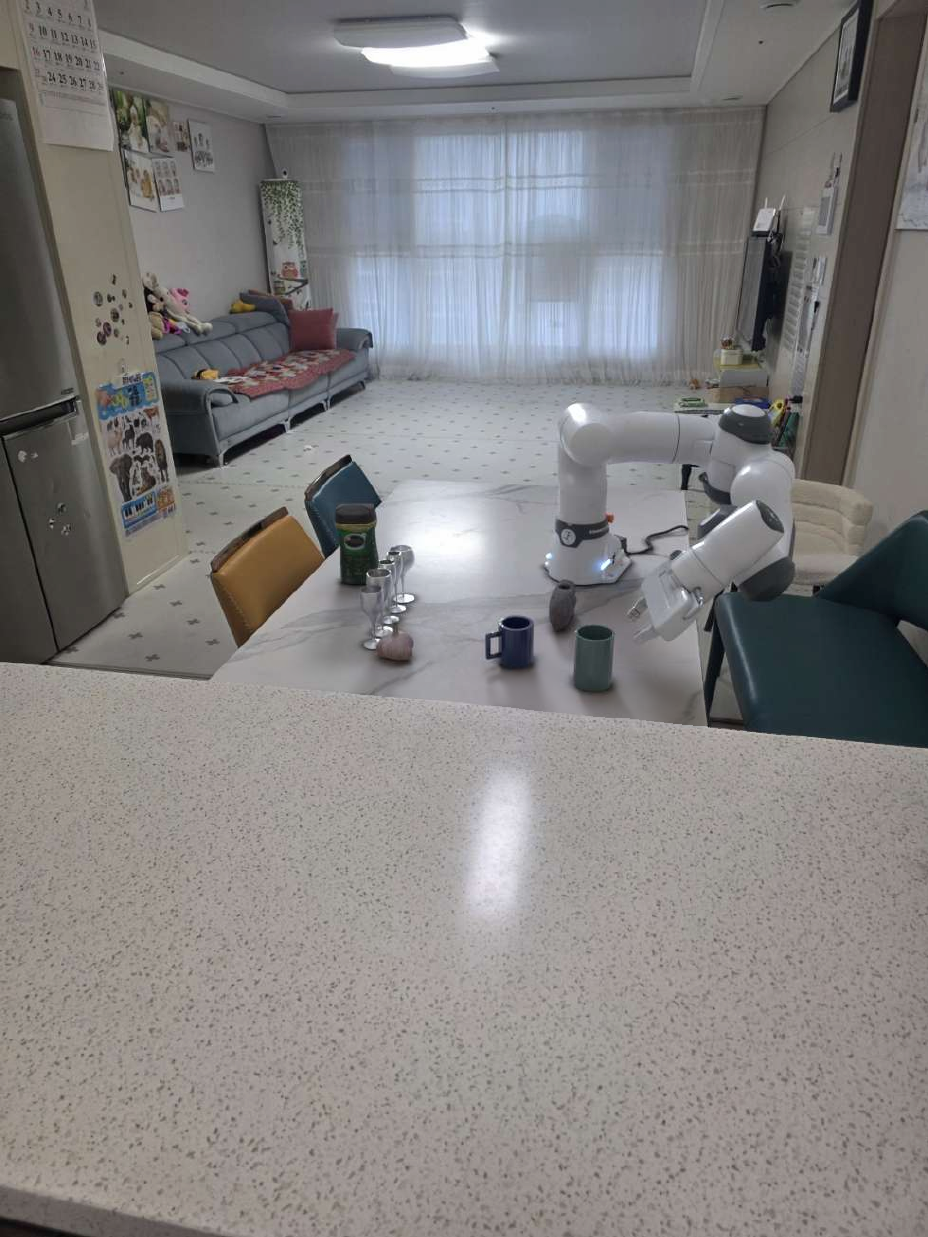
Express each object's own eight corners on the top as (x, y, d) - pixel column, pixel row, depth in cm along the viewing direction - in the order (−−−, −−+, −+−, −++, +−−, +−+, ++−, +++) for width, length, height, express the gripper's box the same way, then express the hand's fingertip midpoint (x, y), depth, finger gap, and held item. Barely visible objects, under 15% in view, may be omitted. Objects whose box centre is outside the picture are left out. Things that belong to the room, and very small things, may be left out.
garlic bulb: (417, 663, 157) (415, 625, 154) (379, 667, 156) (376, 629, 152) (411, 645, 164) (409, 609, 160) (374, 649, 162) (371, 613, 159)
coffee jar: (383, 573, 199) (378, 499, 191) (378, 585, 192) (373, 509, 184) (343, 573, 200) (337, 499, 192) (337, 585, 193) (330, 509, 185)
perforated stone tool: (567, 638, 166) (568, 606, 163) (541, 635, 167) (542, 603, 164) (579, 608, 179) (580, 578, 176) (555, 605, 180) (555, 576, 177)
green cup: (585, 669, 153) (587, 621, 149) (617, 680, 150) (621, 630, 145) (566, 684, 149) (568, 634, 144) (599, 695, 145) (602, 644, 141)
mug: (523, 650, 161) (523, 612, 158) (539, 664, 156) (540, 626, 152) (478, 659, 158) (478, 622, 154) (493, 674, 152) (492, 636, 149)
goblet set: (385, 650, 162) (381, 588, 156) (357, 648, 163) (352, 586, 157) (419, 594, 187) (416, 539, 181) (394, 593, 188) (391, 538, 182)
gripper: (719, 616, 131) (652, 669, 135) (696, 568, 149) (638, 616, 154) (693, 589, 129) (626, 644, 134) (673, 545, 147) (615, 594, 152)
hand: (632, 629), depth 144 cm, fingers open, 8 cm apart
